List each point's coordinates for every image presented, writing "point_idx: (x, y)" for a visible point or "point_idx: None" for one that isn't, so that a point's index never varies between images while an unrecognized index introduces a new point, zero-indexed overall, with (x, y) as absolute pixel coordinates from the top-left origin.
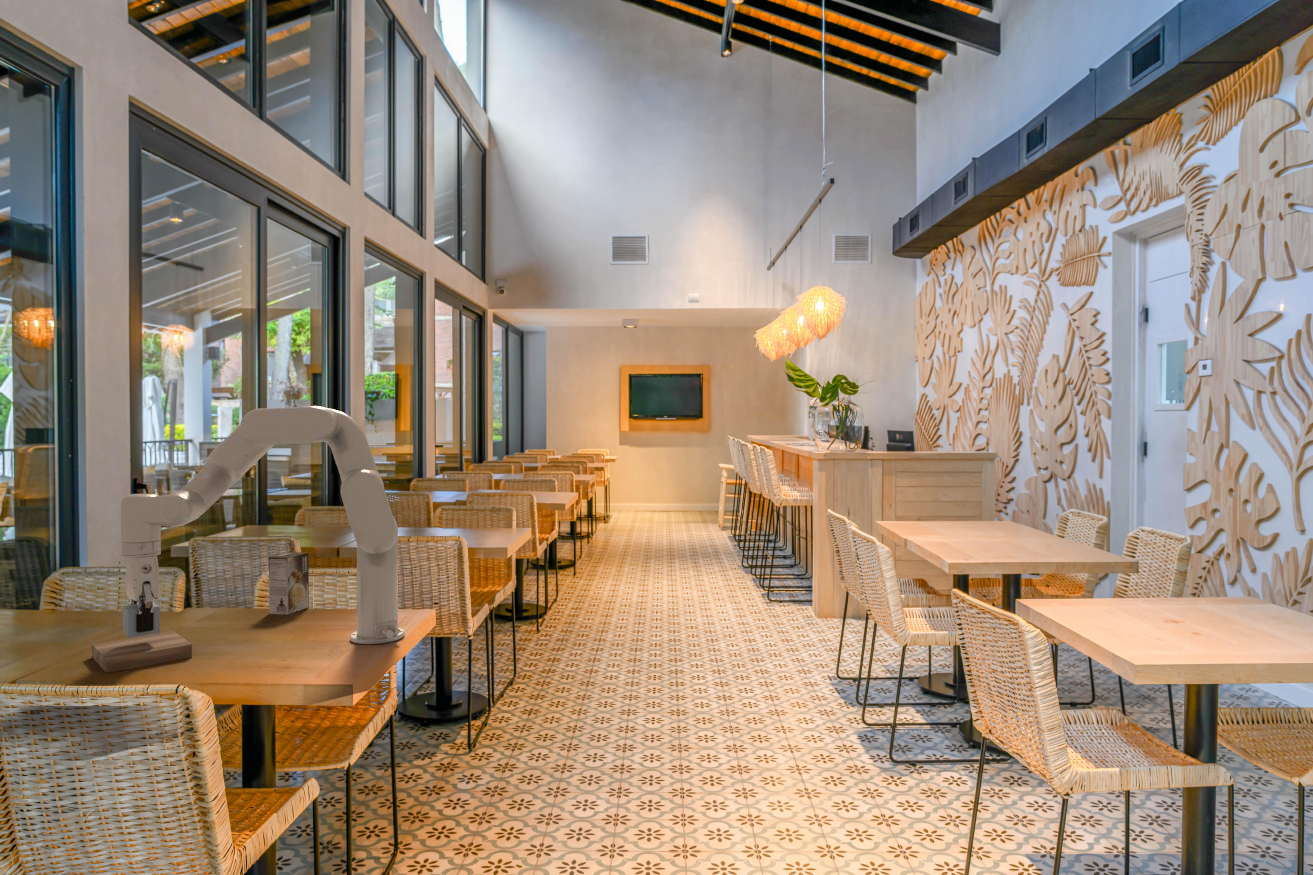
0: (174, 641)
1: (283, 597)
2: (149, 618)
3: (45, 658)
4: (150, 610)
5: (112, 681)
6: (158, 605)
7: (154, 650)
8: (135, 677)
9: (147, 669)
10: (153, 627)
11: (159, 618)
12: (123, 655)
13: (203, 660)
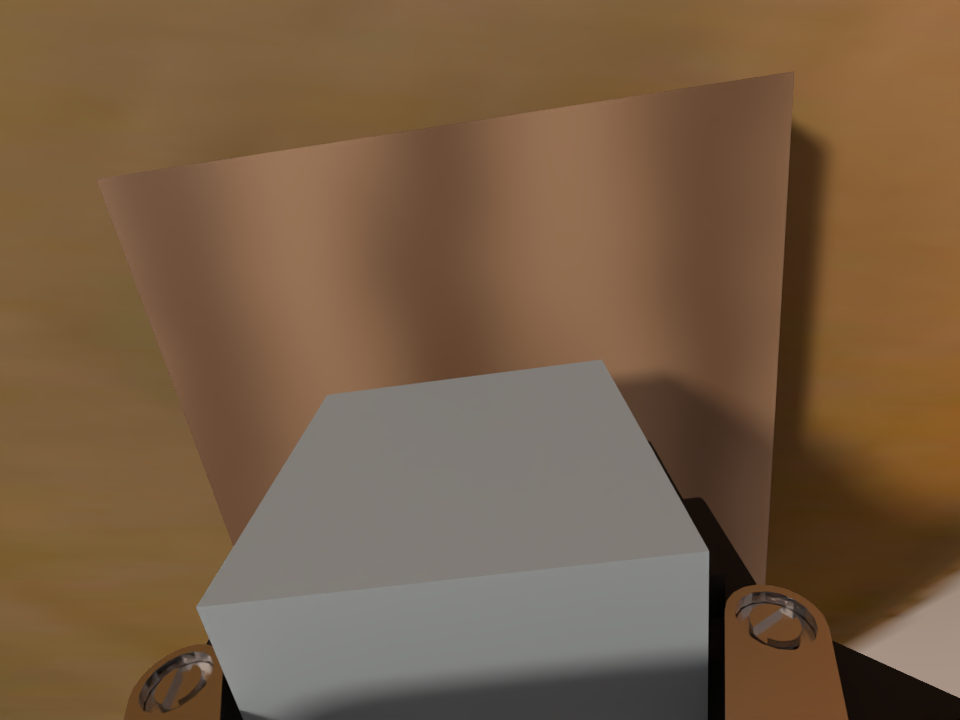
0: (559, 209)
1: None
2: (742, 565)
3: None
4: (863, 660)
5: (923, 538)
6: (600, 563)
7: (766, 372)
8: (950, 444)
9: (823, 380)
10: (652, 449)
11: (644, 438)
12: (750, 545)
13: (906, 7)
